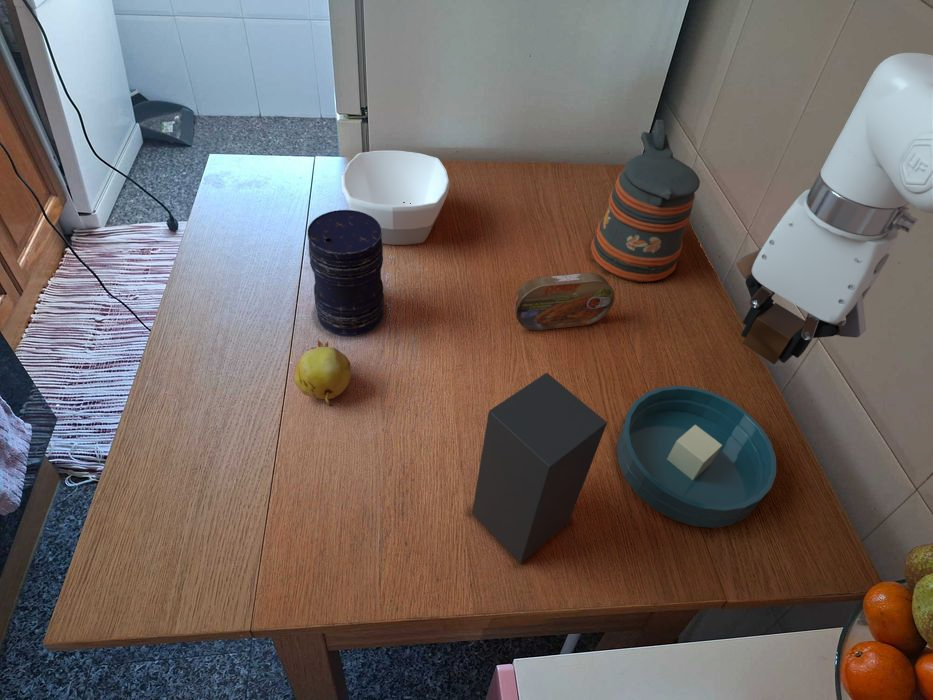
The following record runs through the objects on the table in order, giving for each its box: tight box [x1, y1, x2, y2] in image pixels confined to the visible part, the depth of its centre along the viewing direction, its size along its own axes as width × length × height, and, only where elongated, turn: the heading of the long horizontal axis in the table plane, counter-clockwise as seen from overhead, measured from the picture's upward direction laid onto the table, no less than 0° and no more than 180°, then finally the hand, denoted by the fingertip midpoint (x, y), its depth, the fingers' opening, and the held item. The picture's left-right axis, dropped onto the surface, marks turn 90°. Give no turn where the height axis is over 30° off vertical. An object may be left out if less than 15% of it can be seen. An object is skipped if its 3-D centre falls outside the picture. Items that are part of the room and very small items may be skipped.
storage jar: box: [307, 209, 385, 338], centre depth 90 cm, size 10×10×15 cm
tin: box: [513, 272, 615, 331], centre depth 95 cm, size 15×3×8 cm, turn 102°
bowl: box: [340, 150, 451, 246], centre depth 109 cm, size 18×18×9 cm
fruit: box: [293, 339, 352, 408], centre depth 83 cm, size 7×7×10 cm
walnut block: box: [742, 302, 806, 365], centre depth 70 cm, size 4×4×4 cm
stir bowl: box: [615, 385, 777, 529], centre depth 80 cm, size 18×18×4 cm
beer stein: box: [590, 119, 701, 283], centre depth 105 cm, size 19×15×20 cm
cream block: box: [667, 425, 722, 480], centre depth 80 cm, size 4×4×4 cm
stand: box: [471, 372, 608, 565], centre depth 68 cm, size 8×8×19 cm
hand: (769, 342), depth 71 cm, fingers closed on walnut block, 4 cm apart
